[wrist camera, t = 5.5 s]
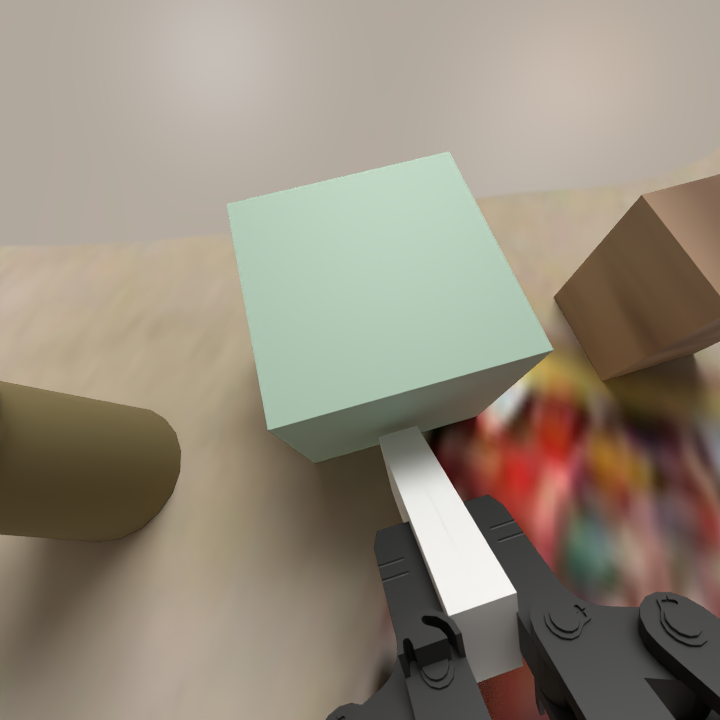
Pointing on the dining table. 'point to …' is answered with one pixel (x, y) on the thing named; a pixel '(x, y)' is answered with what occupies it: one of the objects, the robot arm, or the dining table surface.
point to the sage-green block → (378, 306)
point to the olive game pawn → (81, 465)
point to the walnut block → (651, 282)
